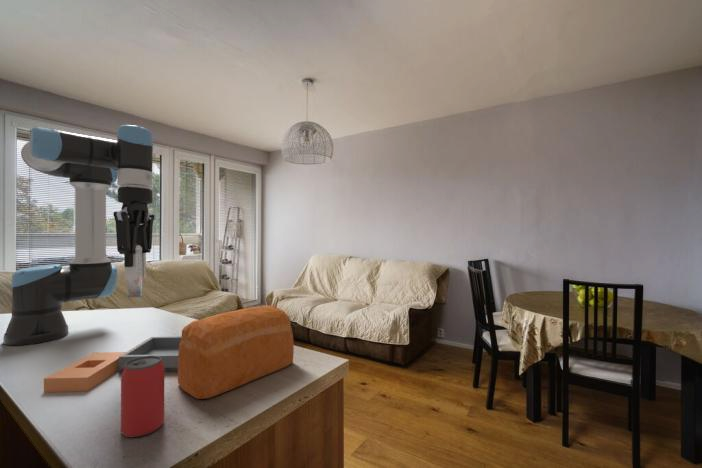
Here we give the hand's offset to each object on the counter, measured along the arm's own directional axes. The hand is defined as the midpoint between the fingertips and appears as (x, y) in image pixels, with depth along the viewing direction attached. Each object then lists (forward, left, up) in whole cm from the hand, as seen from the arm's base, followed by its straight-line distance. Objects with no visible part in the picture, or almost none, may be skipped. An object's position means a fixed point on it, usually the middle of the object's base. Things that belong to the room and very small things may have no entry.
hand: (135, 278), depth 83 cm
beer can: (+27, +16, -23) cm, 39 cm away
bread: (+5, +28, -23) cm, 37 cm away
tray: (-4, +5, -23) cm, 24 cm away
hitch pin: (0, 0, -5) cm, 5 cm away
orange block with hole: (+5, -8, -23) cm, 25 cm away
